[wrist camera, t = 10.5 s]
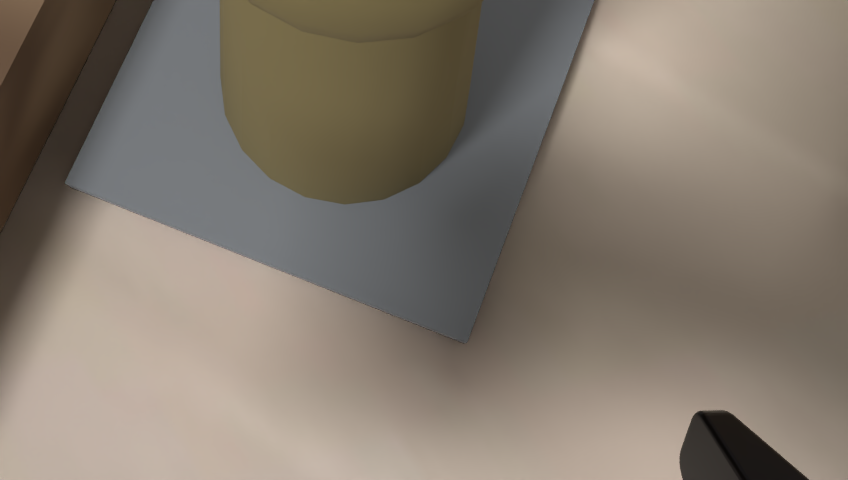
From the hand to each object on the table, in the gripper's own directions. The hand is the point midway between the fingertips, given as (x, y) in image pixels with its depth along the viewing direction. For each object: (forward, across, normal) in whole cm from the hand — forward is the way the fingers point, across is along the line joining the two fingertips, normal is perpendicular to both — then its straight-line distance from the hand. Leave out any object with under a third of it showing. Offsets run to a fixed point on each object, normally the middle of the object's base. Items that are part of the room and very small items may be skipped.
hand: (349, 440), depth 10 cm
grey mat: (+12, 0, 0) cm, 12 cm away
